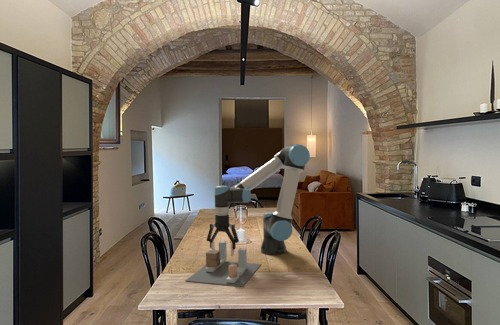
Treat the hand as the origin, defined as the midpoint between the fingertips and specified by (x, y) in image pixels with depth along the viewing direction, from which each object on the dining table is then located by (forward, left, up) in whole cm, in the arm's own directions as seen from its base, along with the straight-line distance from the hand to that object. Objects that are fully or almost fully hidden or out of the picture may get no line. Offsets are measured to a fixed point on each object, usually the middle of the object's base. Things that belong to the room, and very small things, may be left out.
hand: (222, 254), depth 203 cm
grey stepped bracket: (+9, 0, -4) cm, 10 cm away
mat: (+16, +7, -4) cm, 18 cm away
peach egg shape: (+26, +15, -2) cm, 30 cm away
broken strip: (+20, +15, -4) cm, 25 cm away
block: (+14, 0, -2) cm, 14 cm away
